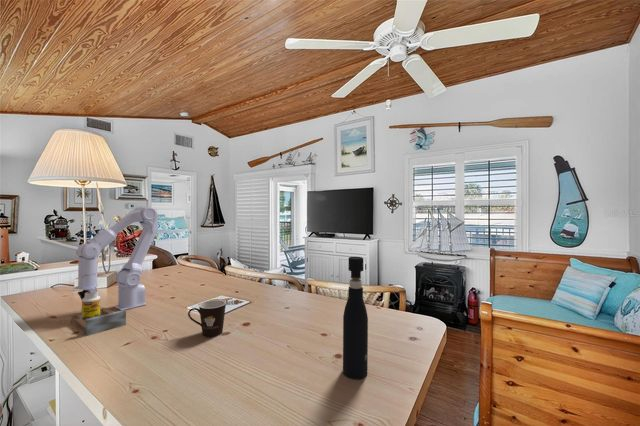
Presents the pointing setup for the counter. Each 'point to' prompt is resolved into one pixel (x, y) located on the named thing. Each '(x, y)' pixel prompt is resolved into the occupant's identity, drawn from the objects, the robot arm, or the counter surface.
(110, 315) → the guide track
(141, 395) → the counter surface
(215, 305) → the coffee mug
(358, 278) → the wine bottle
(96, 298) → the supplement bottle
